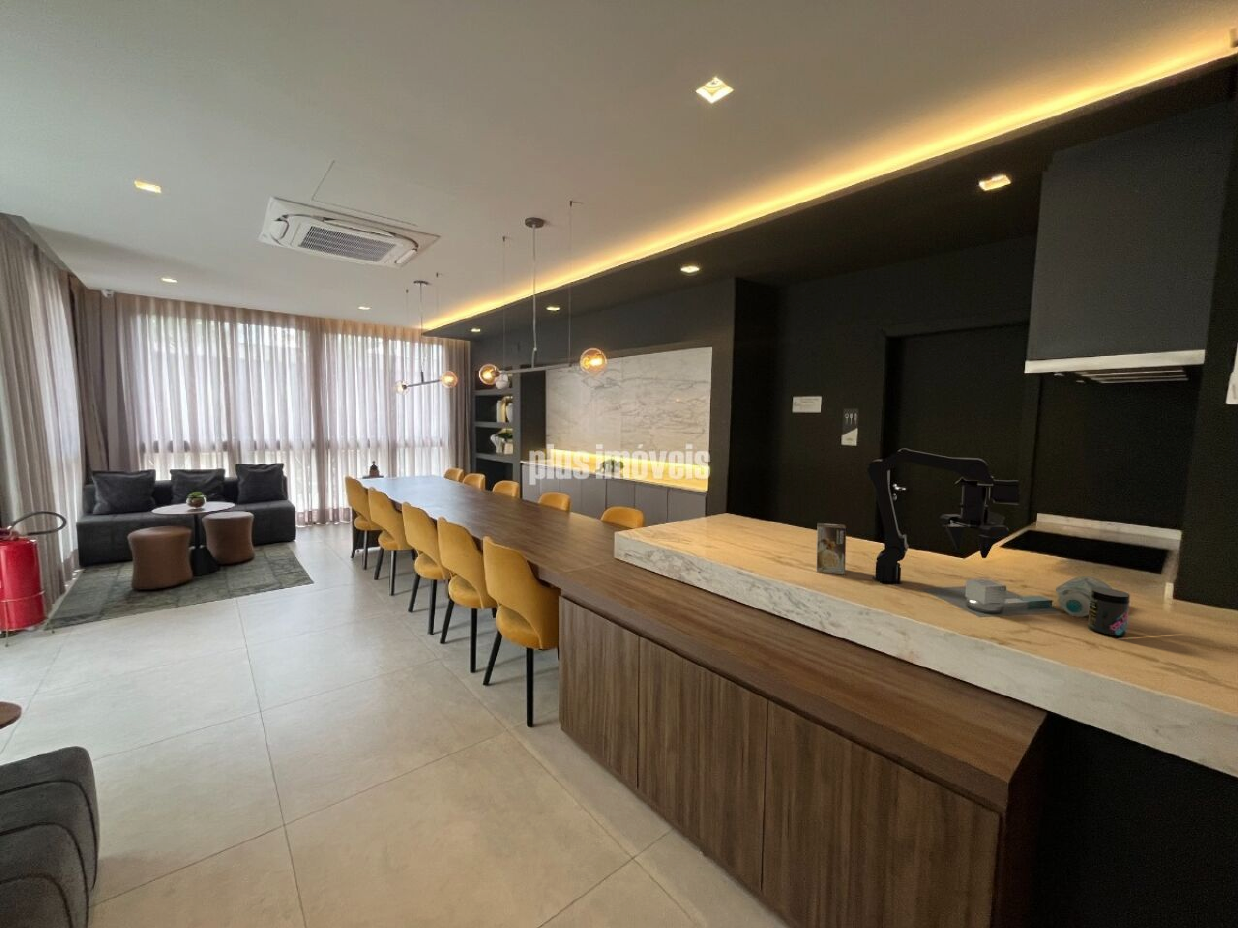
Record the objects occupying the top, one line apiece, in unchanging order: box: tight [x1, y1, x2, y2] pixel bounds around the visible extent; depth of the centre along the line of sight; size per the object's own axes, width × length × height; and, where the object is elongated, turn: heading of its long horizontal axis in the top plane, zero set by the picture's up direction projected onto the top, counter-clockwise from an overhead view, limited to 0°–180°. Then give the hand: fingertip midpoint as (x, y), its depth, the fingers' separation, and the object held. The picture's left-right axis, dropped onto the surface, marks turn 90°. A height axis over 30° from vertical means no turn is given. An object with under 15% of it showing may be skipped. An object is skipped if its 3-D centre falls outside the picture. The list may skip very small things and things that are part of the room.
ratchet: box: [966, 595, 1054, 614], centre depth 135 cm, size 23×8×6 cm, turn 97°
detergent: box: [1055, 576, 1113, 618], centre depth 135 cm, size 13×7×25 cm
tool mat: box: [919, 585, 1064, 618], centre depth 141 cm, size 25×22×1 cm
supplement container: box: [1087, 587, 1131, 639], centre depth 119 cm, size 7×7×10 cm
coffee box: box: [816, 522, 847, 575], centre depth 169 cm, size 9×6×16 cm
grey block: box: [965, 577, 1007, 605], centre depth 134 cm, size 6×6×5 cm
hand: (970, 553), depth 145 cm, fingers open, 9 cm apart
